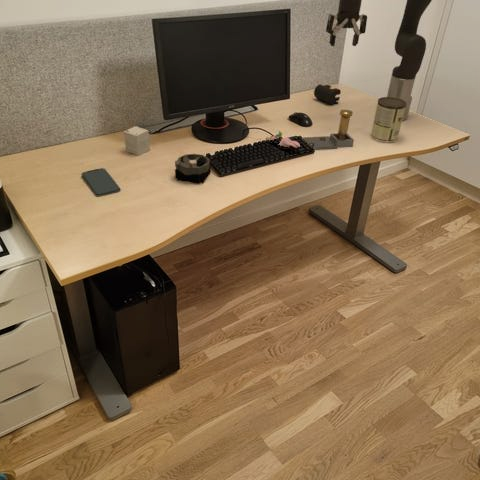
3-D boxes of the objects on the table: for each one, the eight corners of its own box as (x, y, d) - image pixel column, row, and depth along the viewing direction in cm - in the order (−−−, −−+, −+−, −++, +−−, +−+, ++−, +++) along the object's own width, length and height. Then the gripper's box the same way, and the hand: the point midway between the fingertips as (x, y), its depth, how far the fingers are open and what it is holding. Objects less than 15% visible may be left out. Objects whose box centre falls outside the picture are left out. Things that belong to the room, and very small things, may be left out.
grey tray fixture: (344, 137, 176) (345, 131, 175) (354, 147, 169) (355, 141, 168) (298, 140, 173) (298, 133, 171) (305, 150, 166) (306, 143, 164)
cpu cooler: (213, 155, 146) (203, 169, 138) (213, 172, 150) (203, 186, 142) (183, 151, 148) (171, 164, 140) (183, 167, 152) (171, 181, 144)
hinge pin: (343, 140, 174) (349, 109, 167) (348, 145, 171) (354, 113, 164) (333, 140, 174) (338, 109, 167) (337, 145, 170) (343, 114, 163)
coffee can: (373, 130, 184) (380, 95, 176) (399, 135, 180) (408, 99, 172) (367, 139, 176) (375, 103, 168) (395, 145, 173) (404, 108, 165)
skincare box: (150, 150, 161) (149, 130, 156) (138, 156, 157) (136, 135, 152) (137, 145, 163) (136, 125, 159) (125, 151, 159) (123, 131, 155)
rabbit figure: (262, 146, 170) (292, 154, 160) (261, 130, 167) (292, 137, 157) (274, 142, 174) (304, 149, 164) (273, 126, 171) (304, 133, 161)
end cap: (312, 100, 211) (314, 85, 207) (323, 97, 214) (326, 82, 210) (328, 106, 204) (330, 91, 200) (339, 104, 208) (342, 89, 204)
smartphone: (96, 195, 133) (80, 172, 143) (97, 200, 134) (81, 177, 144) (121, 189, 137) (104, 167, 146) (122, 194, 138) (104, 171, 147)
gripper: (336, -3, 156) (328, 48, 165) (374, -2, 158) (365, 48, 168) (328, -6, 162) (321, 43, 171) (365, -6, 164) (357, 43, 174)
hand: (343, 45), depth 169 cm, fingers open, 8 cm apart
